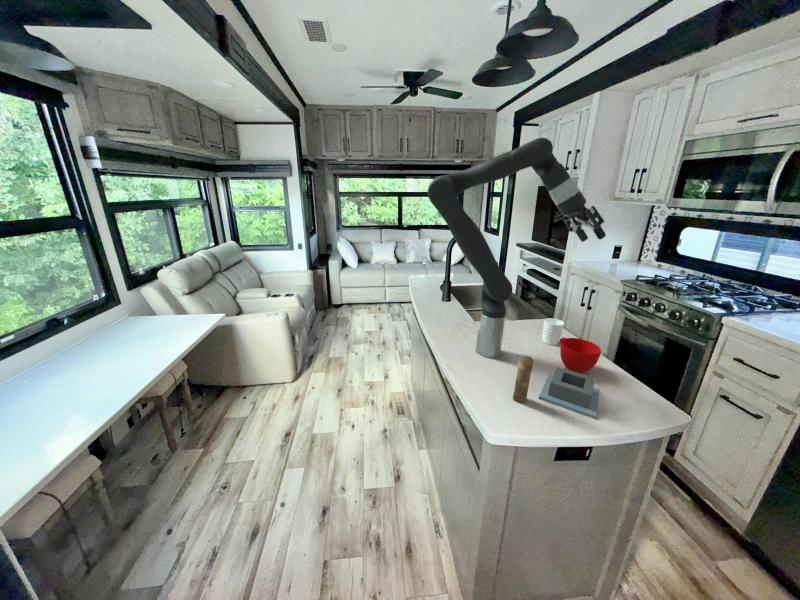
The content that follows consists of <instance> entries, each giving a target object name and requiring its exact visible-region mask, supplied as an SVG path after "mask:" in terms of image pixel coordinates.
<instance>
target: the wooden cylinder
mask: <svg viewBox="0 0 800 600" xmlns="http://www.w3.org/2000/svg"><path fill="white" fill-rule="evenodd" d="M534 360H535V359H534V358H533V357H531V356H528V355H521V356H519V359H518V365H517V372H516V378H515V383H514V391H513V396H512V399H513V401H514V402H515V403H518V404H525V403H526V402H527V397H528V393H529V392H528V391H529V387H530V386H529V385H530V382H531V377H532V376H531V375H532V370H533V366H534V362H535V361H534Z"/></svg>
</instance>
